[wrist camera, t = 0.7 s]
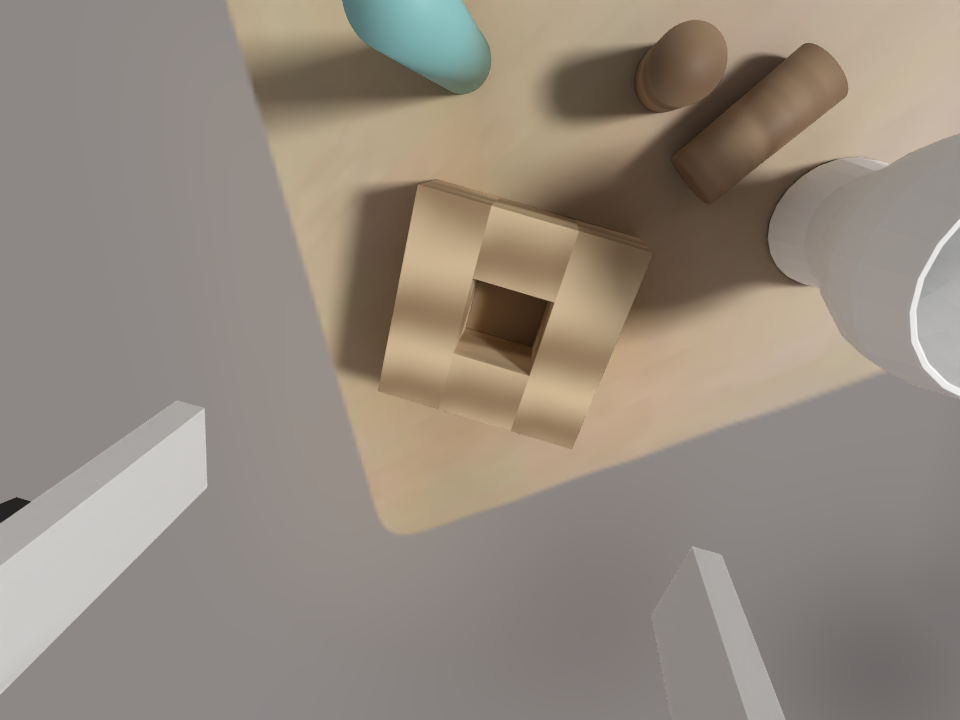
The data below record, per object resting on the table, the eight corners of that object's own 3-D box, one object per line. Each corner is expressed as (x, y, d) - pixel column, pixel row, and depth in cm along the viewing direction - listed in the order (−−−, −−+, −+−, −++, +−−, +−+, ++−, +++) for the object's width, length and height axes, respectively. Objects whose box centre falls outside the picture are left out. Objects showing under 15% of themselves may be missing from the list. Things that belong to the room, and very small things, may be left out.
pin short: (648, 33, 28) (667, 11, 23) (710, 51, 27) (741, 31, 23) (625, 103, 29) (638, 94, 24) (683, 119, 29) (707, 114, 24)
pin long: (439, 17, 29) (349, -88, 16) (497, 34, 28) (453, -59, 16) (427, 85, 30) (335, 38, 17) (482, 101, 30) (431, 66, 17)
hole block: (436, 179, 32) (417, 184, 28) (639, 238, 32) (653, 252, 27) (398, 362, 38) (377, 390, 34) (569, 413, 38) (572, 449, 33)
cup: (725, 301, 33) (848, 409, 19) (767, 127, 29) (964, 108, 15) (895, 312, 32) (1155, 436, 18) (966, 133, 27) (1379, 117, 14)
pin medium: (672, 167, 31) (793, 65, 28) (709, 209, 30) (836, 109, 27) (669, 149, 27) (806, 30, 24) (711, 196, 27) (856, 80, 24)
